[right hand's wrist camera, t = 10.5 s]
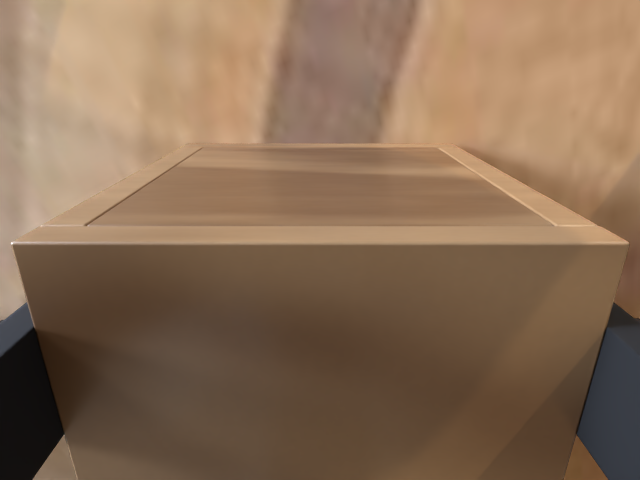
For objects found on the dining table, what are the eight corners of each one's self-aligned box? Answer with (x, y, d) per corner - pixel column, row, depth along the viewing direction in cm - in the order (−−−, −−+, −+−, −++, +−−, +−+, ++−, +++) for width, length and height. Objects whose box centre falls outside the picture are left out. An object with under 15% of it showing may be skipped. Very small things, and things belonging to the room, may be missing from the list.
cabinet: (417, 466, 25) (487, 751, 14) (222, 466, 25) (152, 751, 14) (453, 143, 18) (632, 242, 8) (186, 143, 18) (8, 242, 8)
